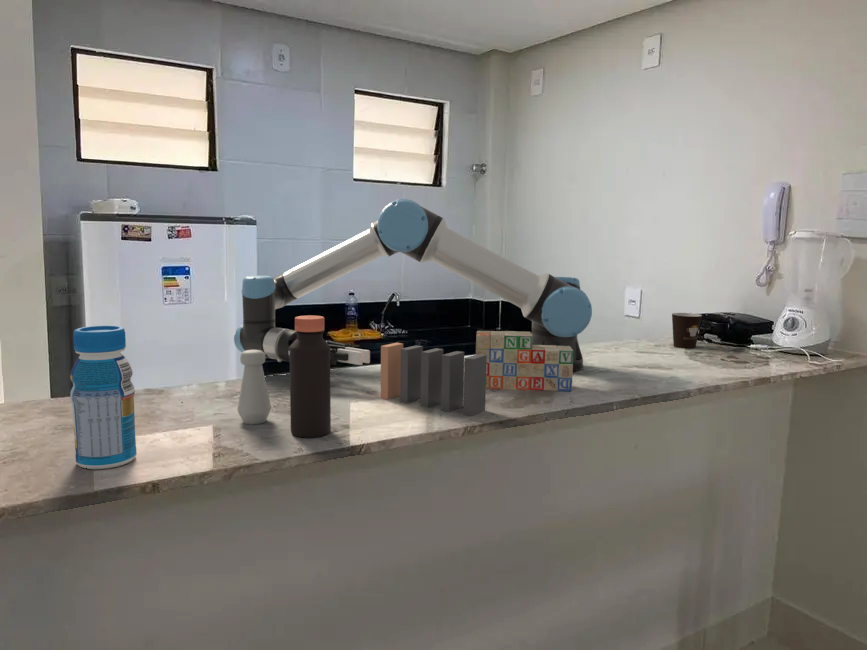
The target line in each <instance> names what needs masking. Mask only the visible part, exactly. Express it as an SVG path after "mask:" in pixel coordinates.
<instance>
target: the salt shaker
mask: <svg viewBox="0 0 867 650" xmlns="http://www.w3.org/2000/svg"><path fill="white" fill-rule="evenodd" d="M239 359H240V364H242V365H243V373H242V380H241V385H240V392H239V397H238V405H237V413H238V416H240V419H241V420H242V422H243V424H244V425H252V426H254V425H260V424H263V423H265V422H266V421H267V419H268V417H269V414H270V413H271V409H272V405H271V402H270V396H269V391H268V386H267V383H266V382H267V381H266V377H265V372H264V368H263V367H264V366H263V364H264V363H266V362H265V361H266V358H265V353H264V352H263V351H261V350H246V351H243V352H241V354H240V358H239Z"/></svg>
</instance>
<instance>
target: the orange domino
mask: <svg viewBox="0 0 867 650" xmlns="http://www.w3.org/2000/svg"><path fill="white" fill-rule="evenodd" d="M402 348H404V343H401V342H393V343H389V344H384V345H381V346H380V399H382V400H390V399H394V398H396V397H400V373H401V349H402Z"/></svg>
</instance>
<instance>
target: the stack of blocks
mask: <svg viewBox="0 0 867 650" xmlns="http://www.w3.org/2000/svg"><path fill="white" fill-rule="evenodd" d="M475 338H476V340H475V355H477V354H482V355H487V361H486V389H488V390H489V389H491V390H493V389H495V390H515V391H516V390H518V391H519V390H524V391H550V392H551V391H553V392H555V391H556V392H572V391H573V390H572V388H573V372H574V371H573V350H572V348H571V347H570V346H556V345H532V331H517V330H516V331H514V330H504V331H503V330H501V331H500V330H496V331H495V330H477V331H476V337H475Z"/></svg>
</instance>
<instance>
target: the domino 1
mask: <svg viewBox="0 0 867 650" xmlns="http://www.w3.org/2000/svg"><path fill="white" fill-rule="evenodd" d="M423 351H424V346H422V345H413V346H408V347H403V348H402V349H401V373H400V396H399V397H400V398H399V399H400V400H399V402H400V403H402V404H410V403H412V402H416V401H418V400H419V401H420V400H421V352H423Z"/></svg>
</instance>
